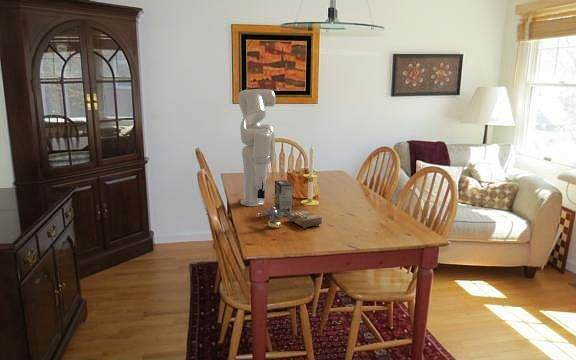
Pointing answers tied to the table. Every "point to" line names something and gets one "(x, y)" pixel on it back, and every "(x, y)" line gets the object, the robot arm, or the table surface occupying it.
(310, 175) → the candle
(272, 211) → the capstan
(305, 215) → the brown switch box
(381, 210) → the table surface
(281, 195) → the coffee box
